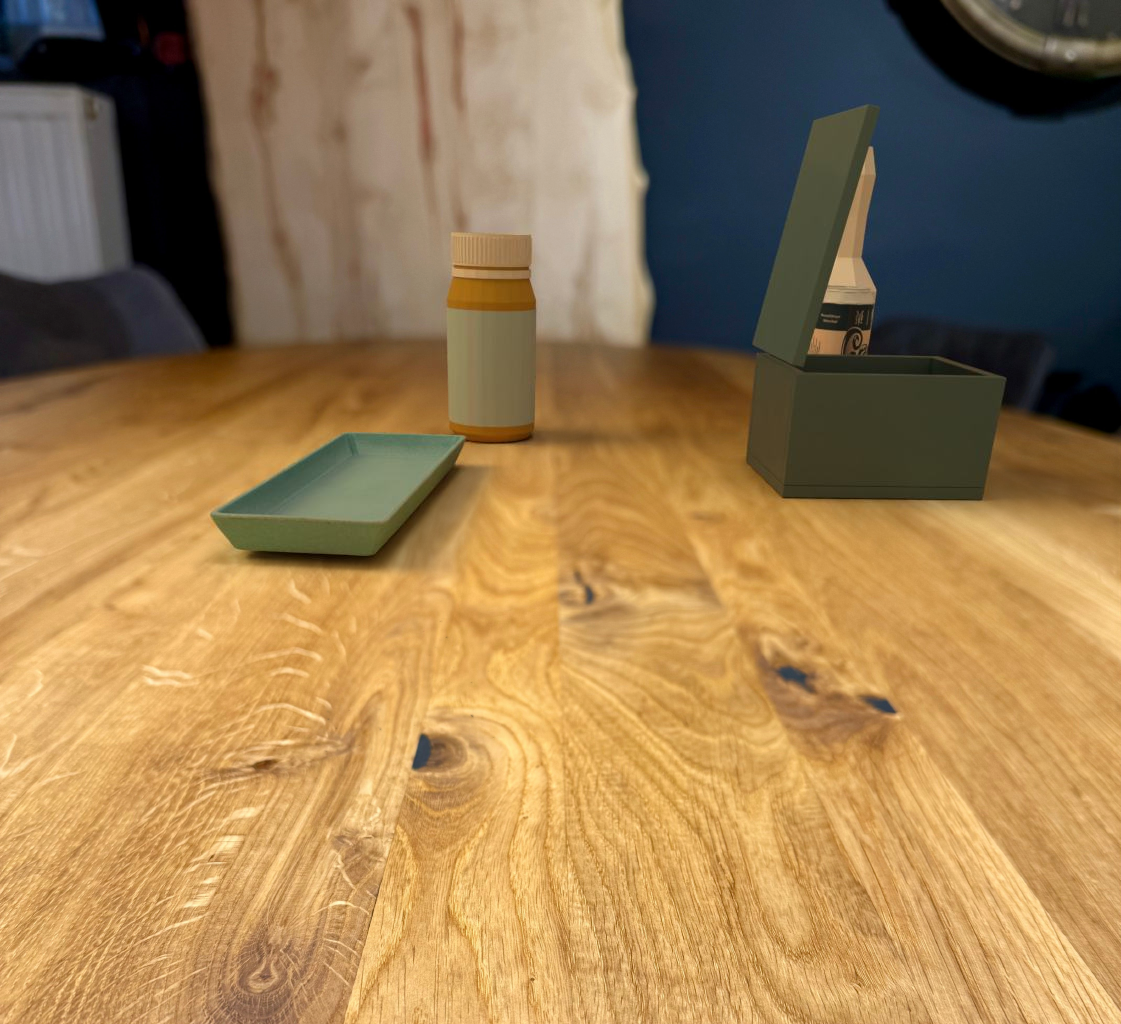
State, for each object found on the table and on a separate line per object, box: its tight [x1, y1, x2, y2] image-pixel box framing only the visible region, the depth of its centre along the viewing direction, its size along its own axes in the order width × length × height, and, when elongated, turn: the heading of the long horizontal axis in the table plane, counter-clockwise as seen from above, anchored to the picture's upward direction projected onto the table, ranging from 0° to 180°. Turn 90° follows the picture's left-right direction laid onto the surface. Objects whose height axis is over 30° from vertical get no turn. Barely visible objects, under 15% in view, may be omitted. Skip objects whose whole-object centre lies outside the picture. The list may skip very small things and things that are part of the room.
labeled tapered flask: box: [828, 145, 877, 345], centre depth 92 cm, size 6×6×22 cm
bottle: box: [445, 231, 537, 443], centre depth 85 cm, size 7×7×15 cm
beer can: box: [808, 285, 876, 355], centre depth 84 cm, size 5×5×12 cm
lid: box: [751, 103, 881, 367], centre depth 69 cm, size 14×12×1 cm
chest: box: [745, 352, 1007, 501], centre depth 75 cm, size 14×12×8 cm
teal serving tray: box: [209, 431, 466, 557], centre depth 66 cm, size 26×9×2 cm, turn 175°
